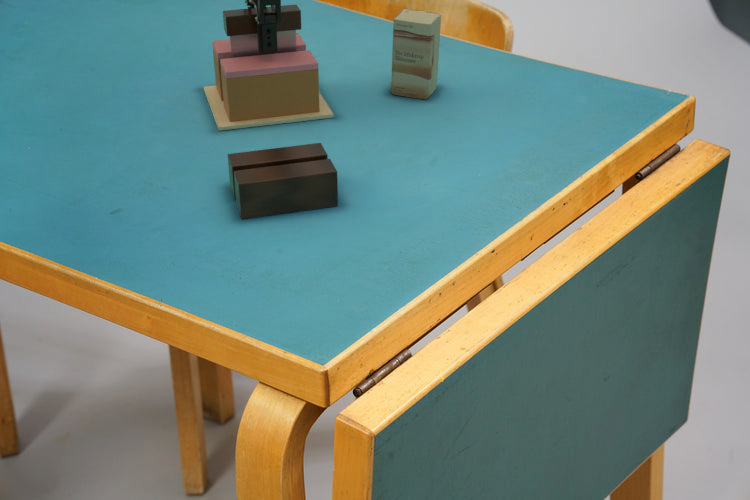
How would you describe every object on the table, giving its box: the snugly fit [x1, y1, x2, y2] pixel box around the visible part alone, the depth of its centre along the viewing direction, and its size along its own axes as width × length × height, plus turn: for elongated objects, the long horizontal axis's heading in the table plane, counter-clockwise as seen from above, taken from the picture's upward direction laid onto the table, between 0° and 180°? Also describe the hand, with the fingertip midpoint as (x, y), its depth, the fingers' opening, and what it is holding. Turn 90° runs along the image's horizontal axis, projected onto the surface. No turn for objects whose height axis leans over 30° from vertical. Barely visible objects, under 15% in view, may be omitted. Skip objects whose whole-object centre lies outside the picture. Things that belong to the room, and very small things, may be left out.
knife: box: [222, 4, 302, 58], centre depth 120 cm, size 9×2×11 cm, turn 106°
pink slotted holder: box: [203, 32, 335, 132], centre depth 121 cm, size 14×13×7 cm
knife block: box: [227, 142, 339, 220], centre depth 101 cm, size 10×7×4 cm
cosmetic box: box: [390, 8, 442, 100], centre depth 124 cm, size 5×4×10 cm
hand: (263, 44), depth 119 cm, fingers open, 5 cm apart
